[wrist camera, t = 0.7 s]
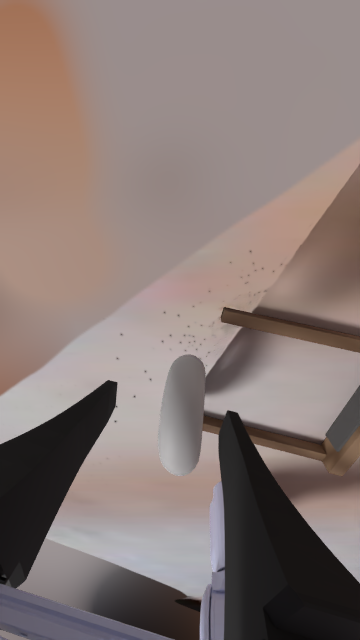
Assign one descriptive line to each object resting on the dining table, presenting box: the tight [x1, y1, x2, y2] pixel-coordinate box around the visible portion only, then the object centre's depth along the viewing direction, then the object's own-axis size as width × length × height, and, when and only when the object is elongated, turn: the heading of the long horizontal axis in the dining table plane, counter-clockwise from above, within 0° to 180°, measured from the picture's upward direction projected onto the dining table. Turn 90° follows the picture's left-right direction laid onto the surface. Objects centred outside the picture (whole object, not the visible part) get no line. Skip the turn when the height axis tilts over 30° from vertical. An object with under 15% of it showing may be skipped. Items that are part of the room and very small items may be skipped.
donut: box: [158, 355, 205, 476], centre depth 17 cm, size 10×4×10 cm, turn 178°
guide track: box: [202, 307, 360, 476], centre depth 20 cm, size 16×18×2 cm
